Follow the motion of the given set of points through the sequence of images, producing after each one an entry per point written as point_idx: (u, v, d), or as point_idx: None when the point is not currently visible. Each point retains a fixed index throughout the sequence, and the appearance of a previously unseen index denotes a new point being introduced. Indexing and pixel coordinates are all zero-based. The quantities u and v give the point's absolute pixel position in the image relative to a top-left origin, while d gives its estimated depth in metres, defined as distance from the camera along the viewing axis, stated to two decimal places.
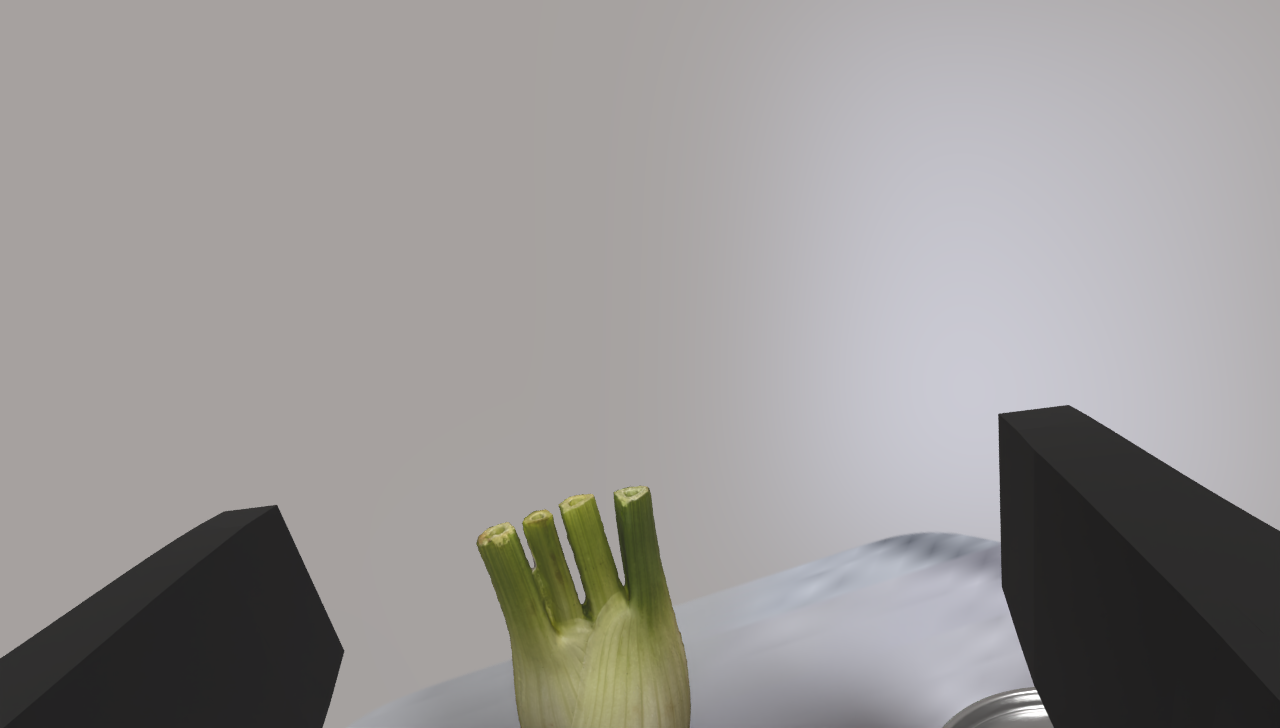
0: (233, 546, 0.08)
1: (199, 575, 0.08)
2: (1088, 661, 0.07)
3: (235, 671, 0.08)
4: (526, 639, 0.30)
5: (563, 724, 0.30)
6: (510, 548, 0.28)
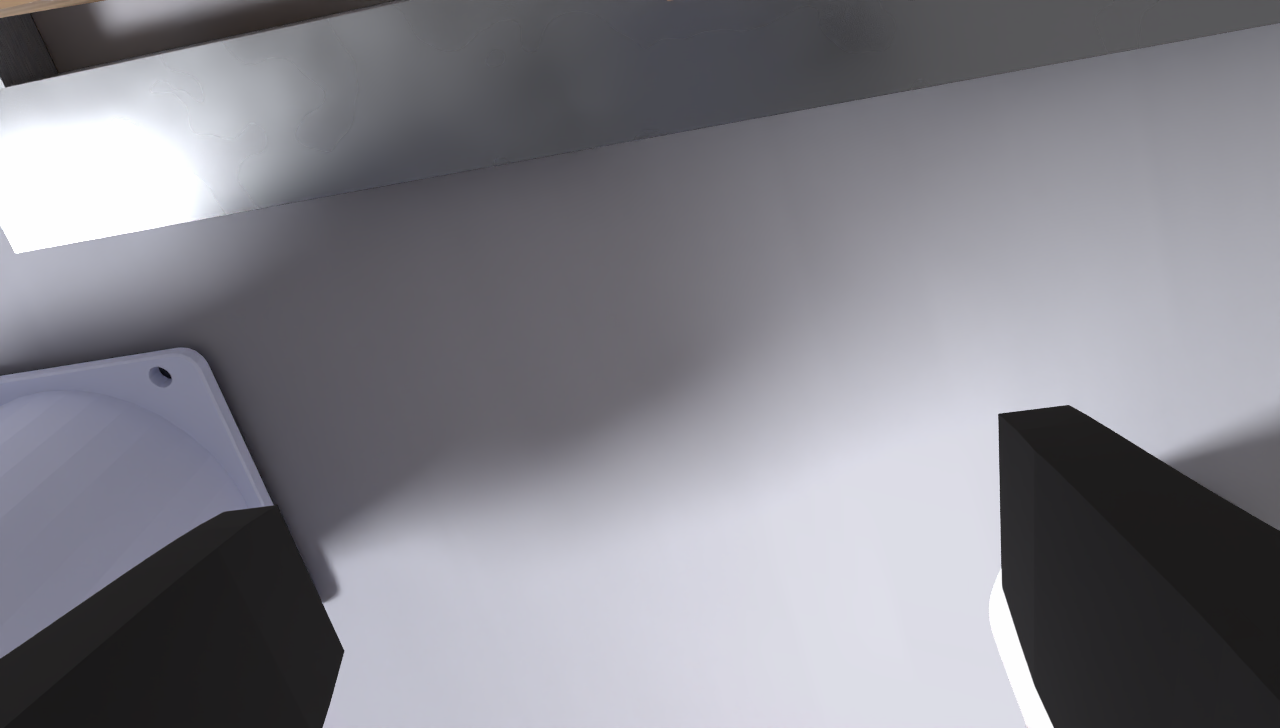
0: (233, 546, 0.08)
1: (199, 575, 0.08)
2: (1090, 661, 0.07)
3: (235, 671, 0.08)
4: None
5: None
6: None
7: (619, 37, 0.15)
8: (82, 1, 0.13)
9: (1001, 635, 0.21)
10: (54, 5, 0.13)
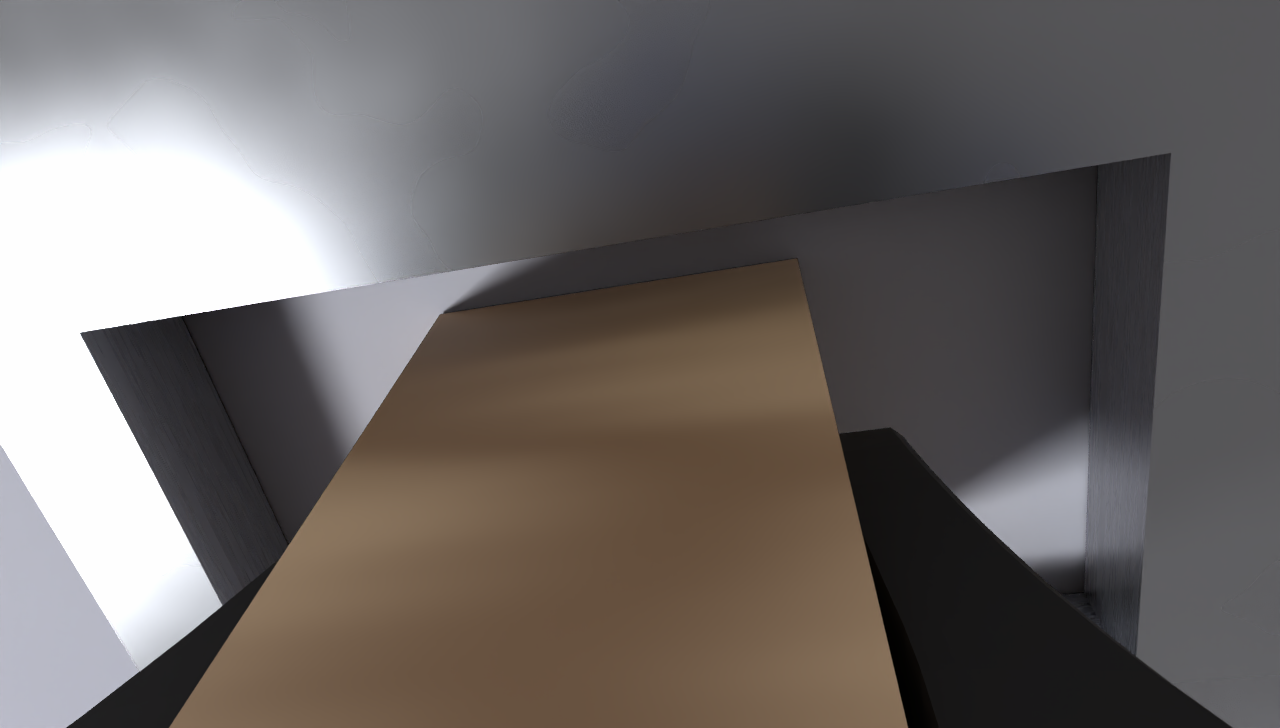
0: None
1: None
2: None
3: None
4: None
5: None
6: None
7: None
8: None
9: None
10: None
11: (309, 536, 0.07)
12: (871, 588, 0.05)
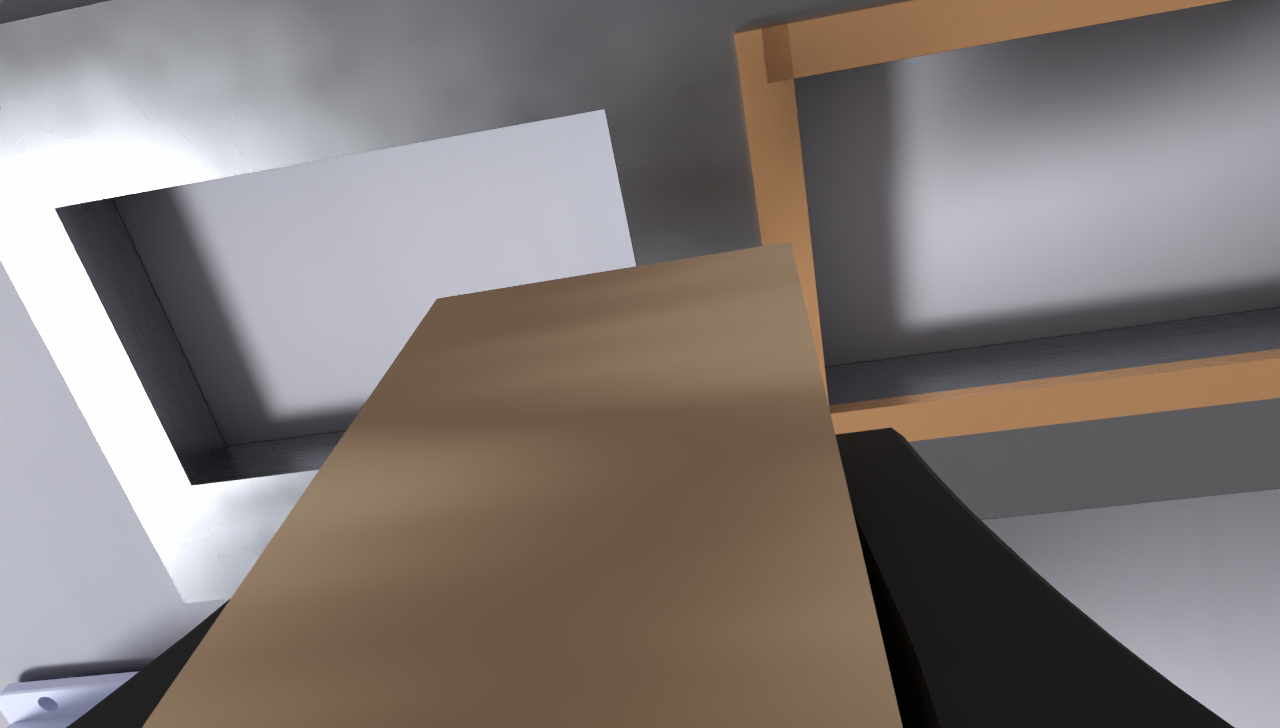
0: None
1: None
2: None
3: None
4: None
5: None
6: None
7: None
8: None
9: None
10: None
11: (305, 510, 0.07)
12: (858, 550, 0.05)
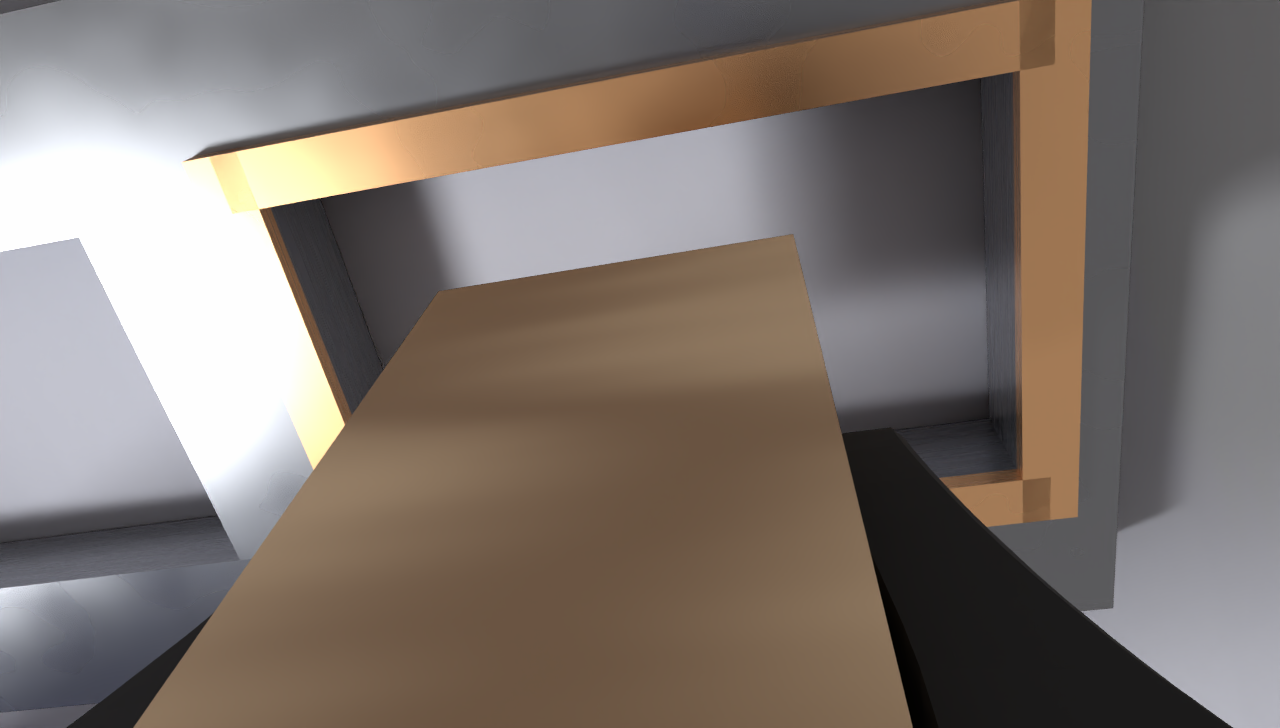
0: None
1: None
2: None
3: None
4: None
5: None
6: None
7: None
8: None
9: None
10: None
11: (307, 498, 0.07)
12: (863, 537, 0.05)
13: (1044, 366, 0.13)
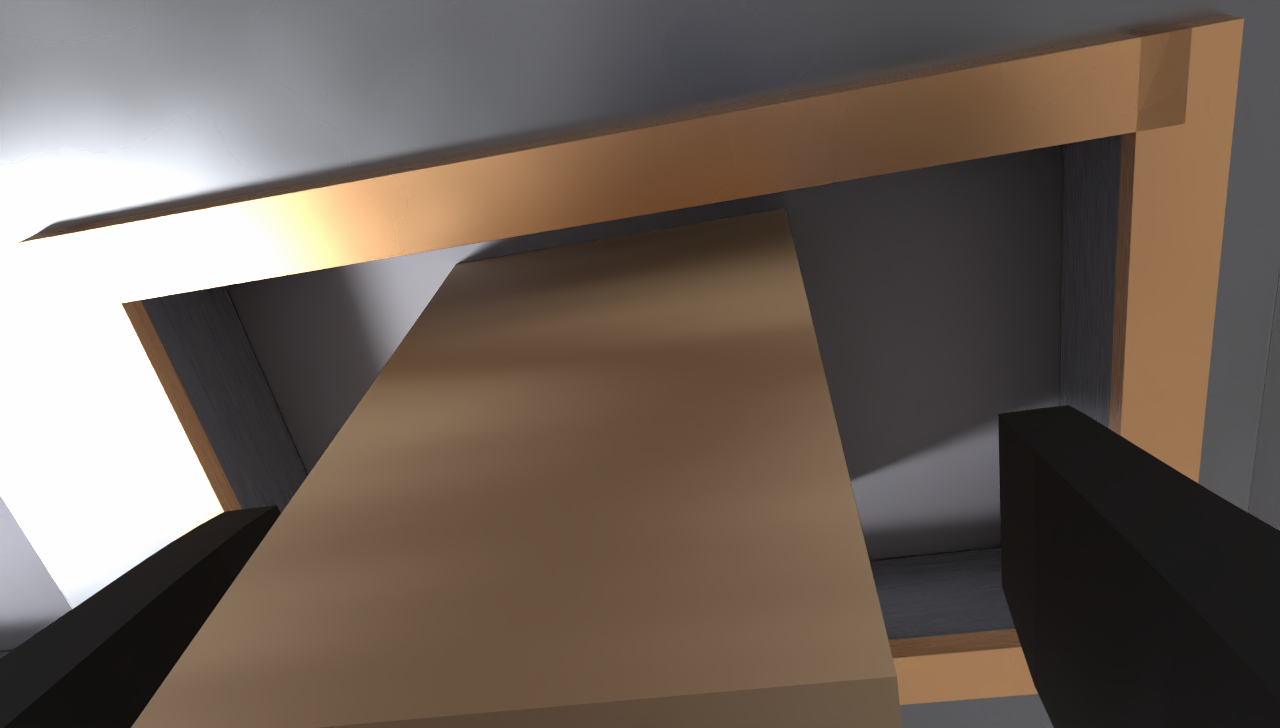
0: (233, 546, 0.08)
1: (199, 575, 0.08)
2: (1088, 661, 0.07)
3: None
4: None
5: None
6: None
7: None
8: None
9: None
10: None
11: (347, 437, 0.07)
12: (840, 450, 0.06)
13: None
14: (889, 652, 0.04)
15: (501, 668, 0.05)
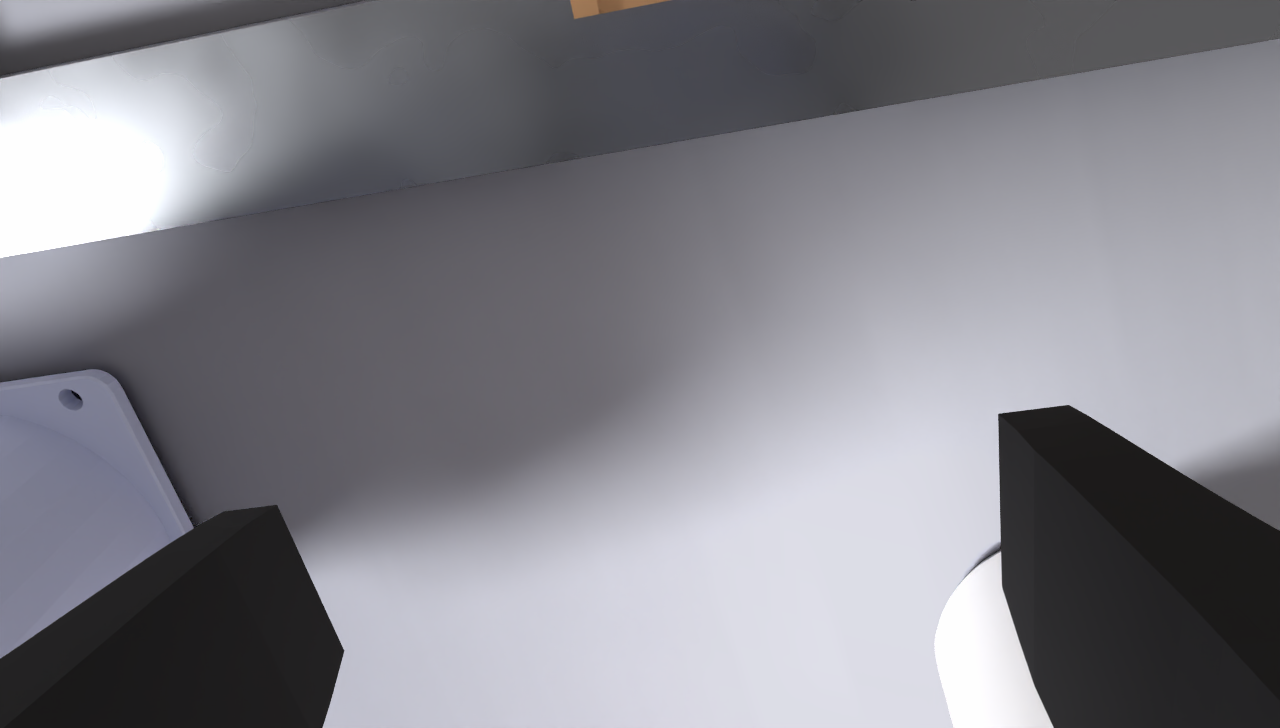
0: (233, 546, 0.08)
1: (199, 575, 0.08)
2: (1088, 661, 0.07)
3: (235, 671, 0.08)
4: None
5: None
6: None
7: (527, 56, 0.14)
8: None
9: (944, 675, 0.20)
10: None
11: None
12: None
13: None
14: None
15: None
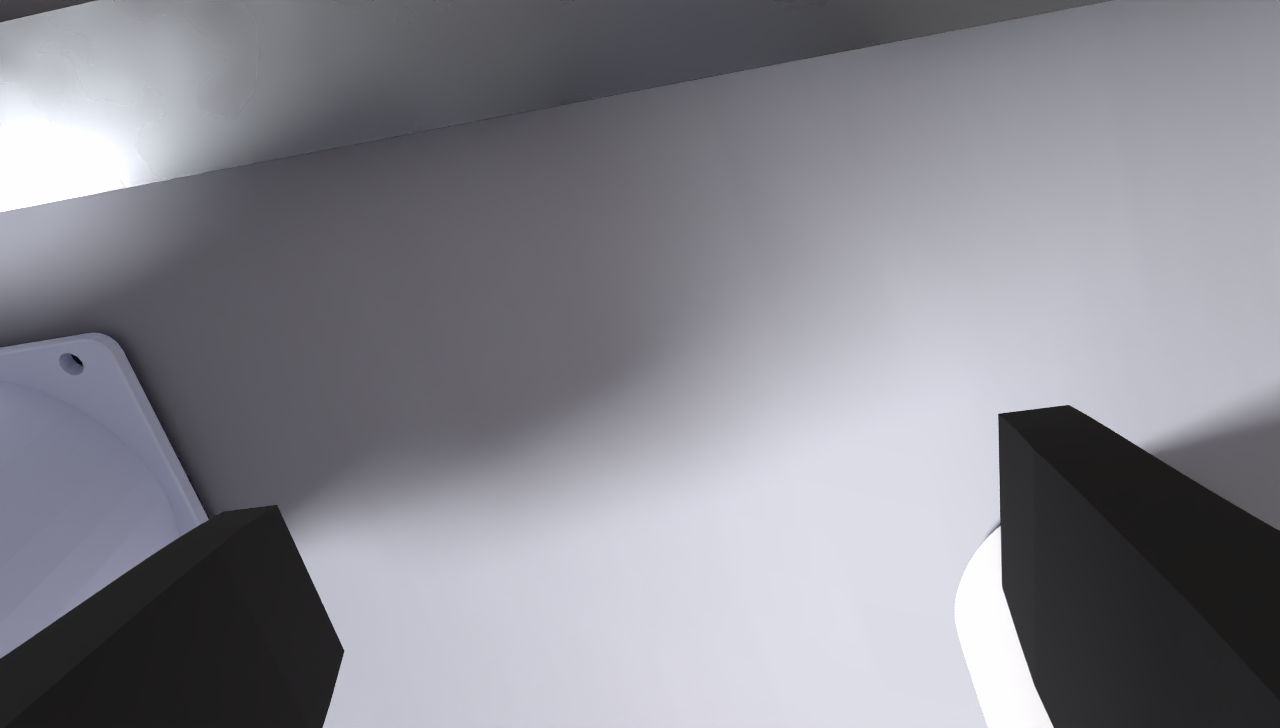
0: (233, 546, 0.08)
1: (199, 575, 0.08)
2: (1088, 662, 0.07)
3: (235, 671, 0.08)
4: None
5: None
6: None
7: None
8: None
9: (965, 639, 0.19)
10: None
11: None
12: None
13: None
14: None
15: None
